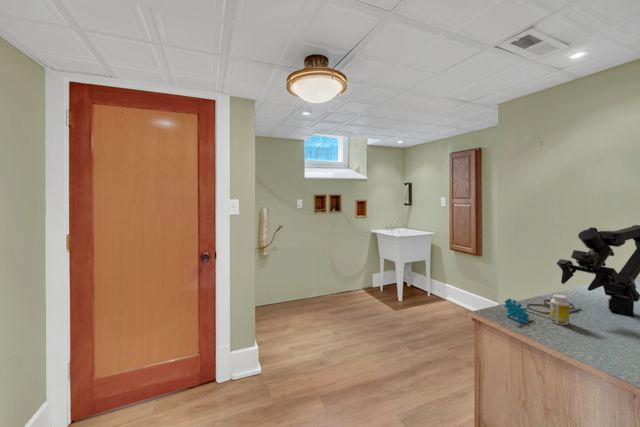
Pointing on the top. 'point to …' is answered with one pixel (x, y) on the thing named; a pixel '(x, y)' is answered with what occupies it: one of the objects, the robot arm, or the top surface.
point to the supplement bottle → (559, 310)
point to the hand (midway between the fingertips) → (574, 286)
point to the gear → (516, 311)
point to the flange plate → (545, 308)
